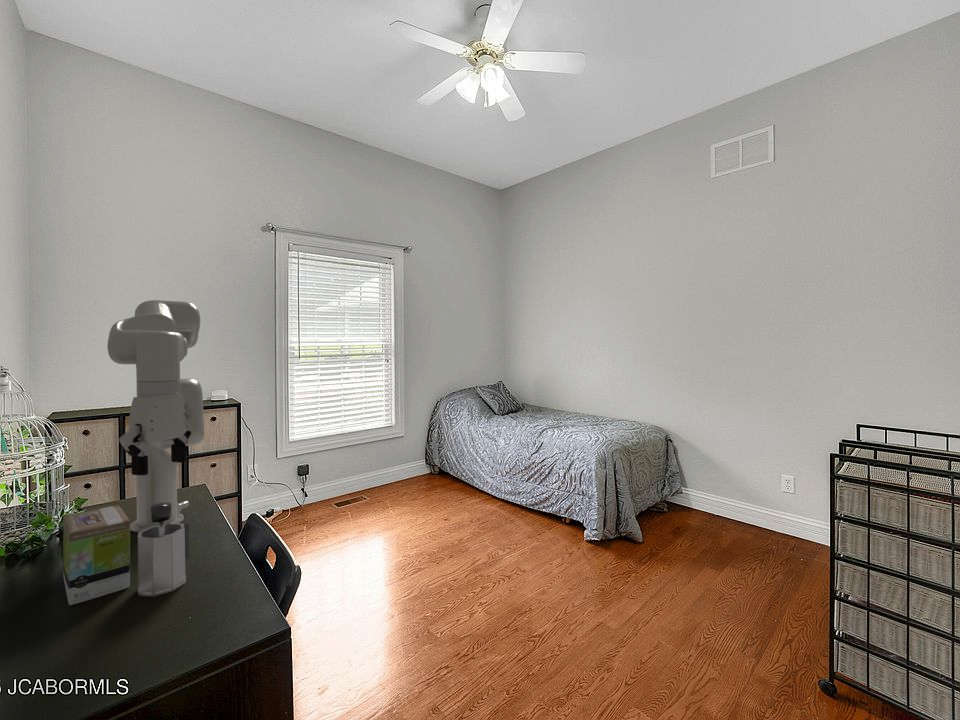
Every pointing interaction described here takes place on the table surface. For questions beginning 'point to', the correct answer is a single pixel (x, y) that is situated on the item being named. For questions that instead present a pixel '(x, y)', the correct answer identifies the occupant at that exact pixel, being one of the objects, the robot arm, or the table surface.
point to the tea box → (96, 553)
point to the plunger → (161, 515)
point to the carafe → (162, 559)
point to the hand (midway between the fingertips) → (160, 468)
